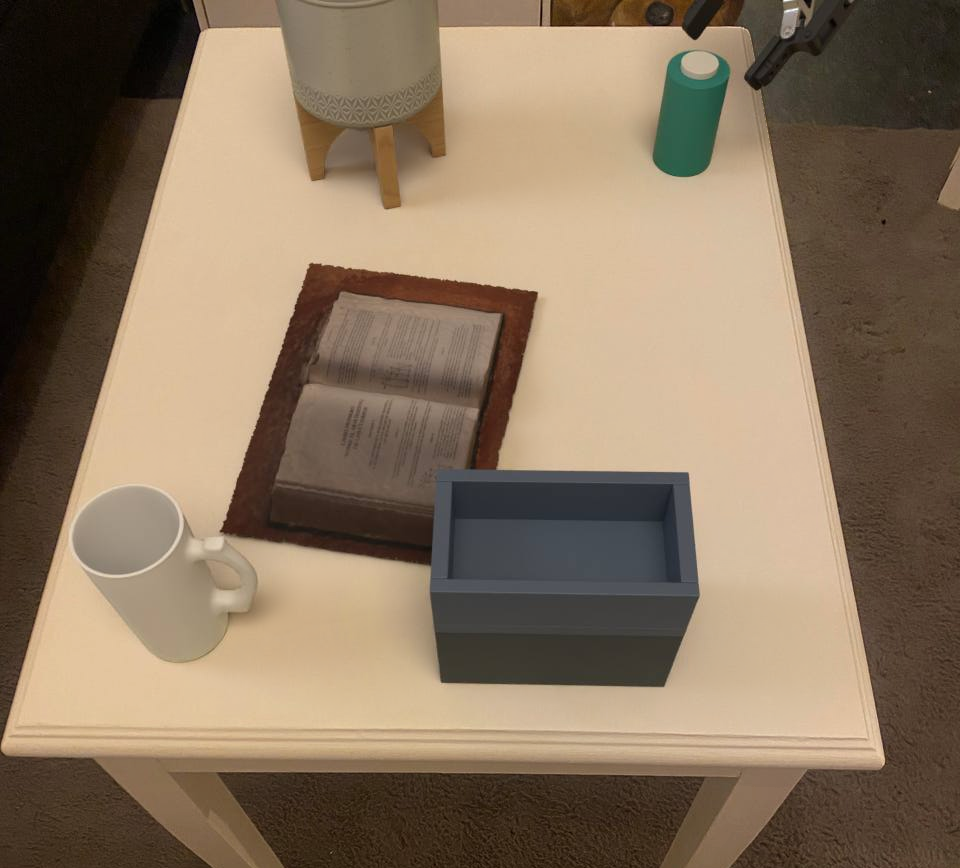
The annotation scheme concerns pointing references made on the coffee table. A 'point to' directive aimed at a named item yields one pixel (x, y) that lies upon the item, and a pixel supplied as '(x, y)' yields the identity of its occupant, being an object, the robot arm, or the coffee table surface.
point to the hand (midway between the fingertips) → (718, 59)
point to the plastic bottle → (690, 112)
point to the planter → (364, 76)
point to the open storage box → (561, 576)
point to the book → (379, 409)
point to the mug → (158, 570)
